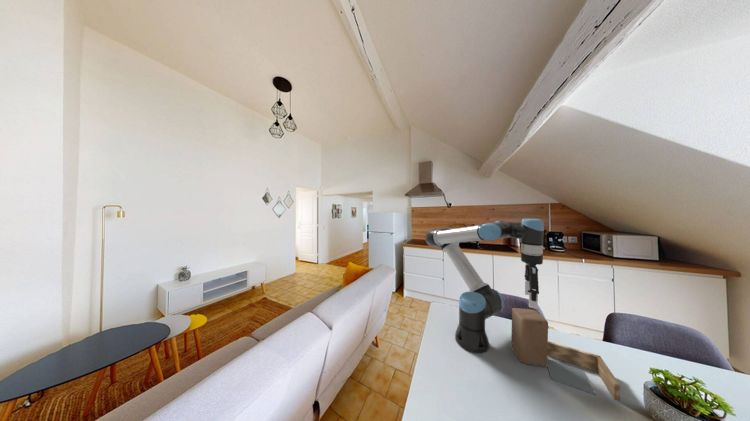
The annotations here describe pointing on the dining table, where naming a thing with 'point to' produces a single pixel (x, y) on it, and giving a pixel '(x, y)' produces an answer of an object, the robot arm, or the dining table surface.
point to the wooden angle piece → (586, 364)
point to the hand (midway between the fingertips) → (530, 300)
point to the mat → (569, 376)
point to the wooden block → (529, 336)
